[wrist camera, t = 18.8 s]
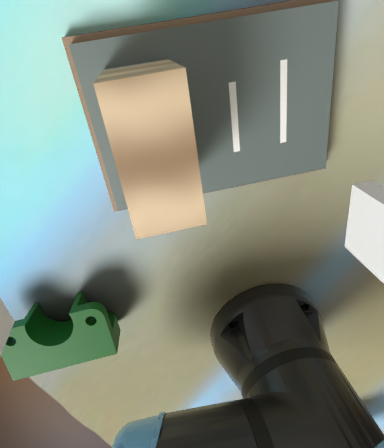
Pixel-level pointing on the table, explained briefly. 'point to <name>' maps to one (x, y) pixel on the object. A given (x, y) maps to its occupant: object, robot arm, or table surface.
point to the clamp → (60, 339)
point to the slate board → (229, 87)
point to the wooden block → (153, 144)
